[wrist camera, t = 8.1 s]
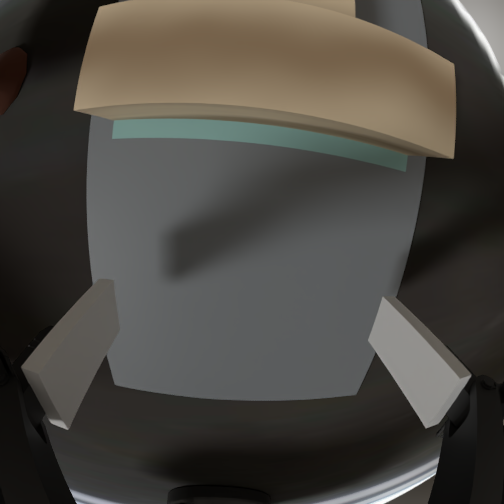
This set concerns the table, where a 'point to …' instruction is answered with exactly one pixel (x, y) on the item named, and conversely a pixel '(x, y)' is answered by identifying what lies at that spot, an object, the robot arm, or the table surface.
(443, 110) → the t block
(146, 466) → the table surface
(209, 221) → the push board
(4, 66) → the ice cream bowl
